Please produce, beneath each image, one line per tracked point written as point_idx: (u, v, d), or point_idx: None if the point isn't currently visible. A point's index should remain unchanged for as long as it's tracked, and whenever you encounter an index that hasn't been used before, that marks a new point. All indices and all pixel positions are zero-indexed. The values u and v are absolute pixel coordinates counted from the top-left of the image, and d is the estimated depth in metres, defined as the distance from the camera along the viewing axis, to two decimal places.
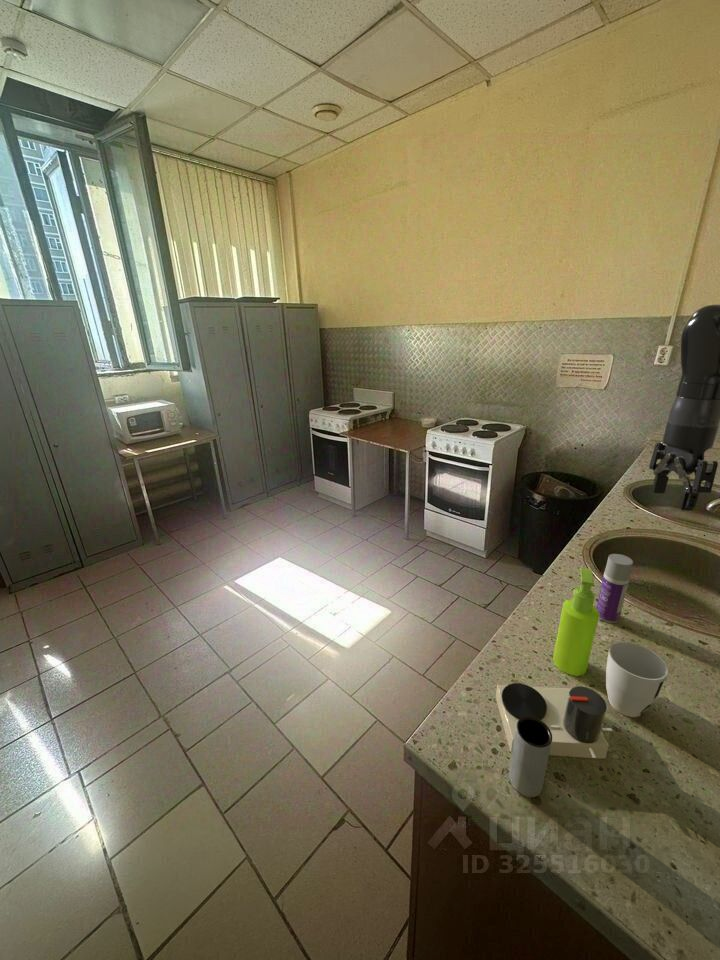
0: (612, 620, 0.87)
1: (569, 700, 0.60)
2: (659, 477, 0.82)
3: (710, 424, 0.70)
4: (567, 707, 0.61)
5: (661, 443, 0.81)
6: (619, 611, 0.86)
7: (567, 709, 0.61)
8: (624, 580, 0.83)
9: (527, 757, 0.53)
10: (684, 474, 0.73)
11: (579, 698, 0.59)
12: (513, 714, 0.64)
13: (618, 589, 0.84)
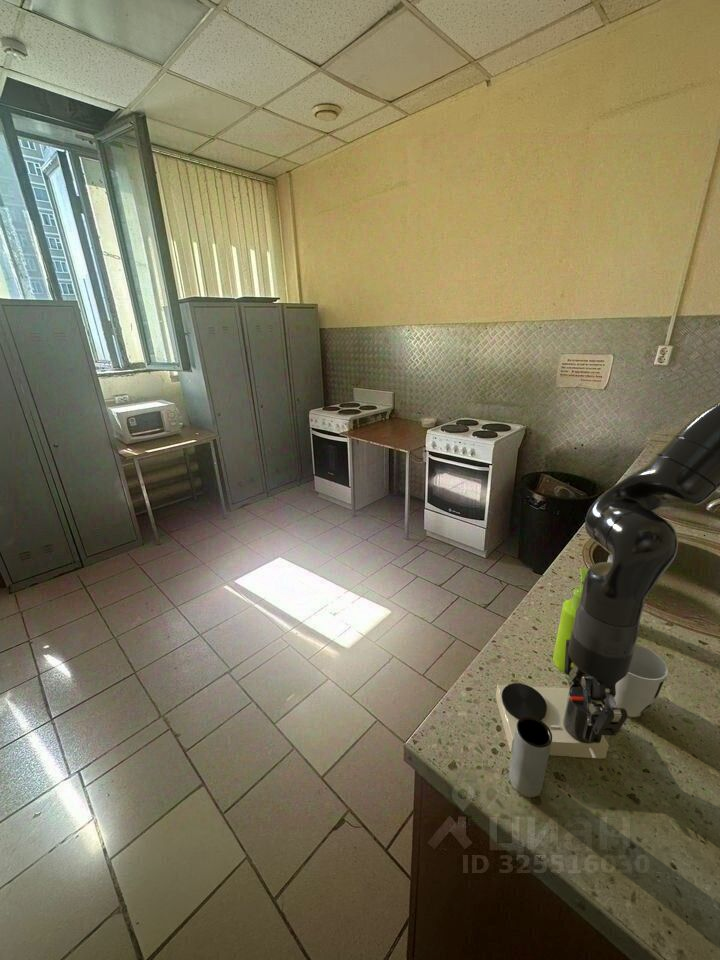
0: None
1: (569, 700, 0.60)
2: None
3: (620, 654, 0.51)
4: (567, 707, 0.61)
5: None
6: None
7: (567, 709, 0.61)
8: None
9: (527, 757, 0.53)
10: (588, 704, 0.56)
11: (579, 698, 0.59)
12: (513, 714, 0.64)
13: None
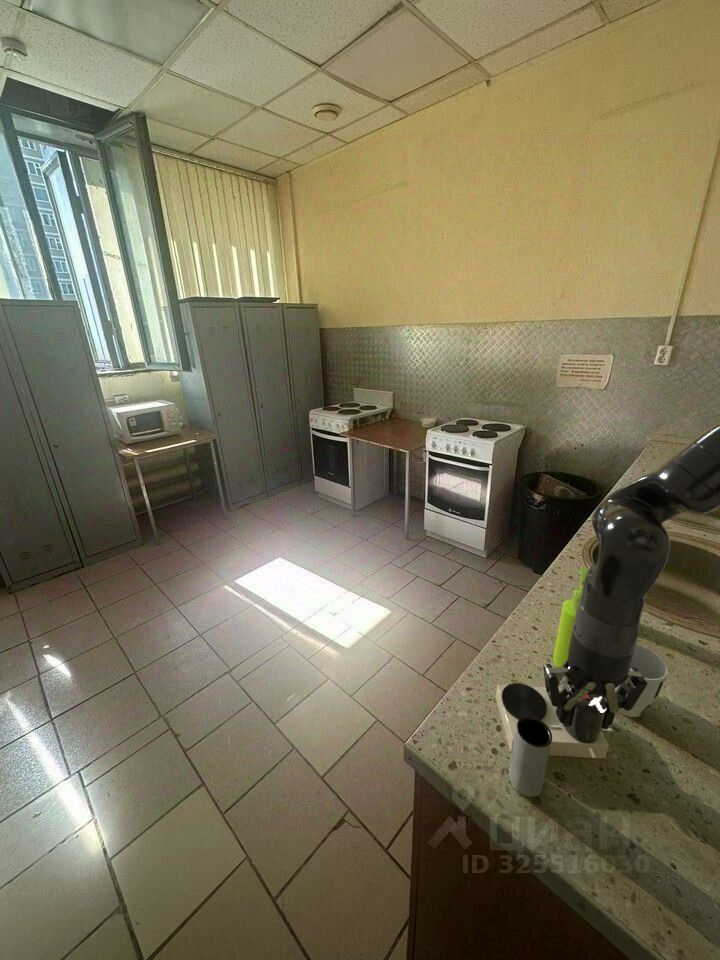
0: None
1: None
2: None
3: (577, 635, 0.55)
4: None
5: (635, 670, 0.57)
6: None
7: None
8: None
9: (527, 757, 0.53)
10: (566, 679, 0.60)
11: None
12: (513, 714, 0.64)
13: None
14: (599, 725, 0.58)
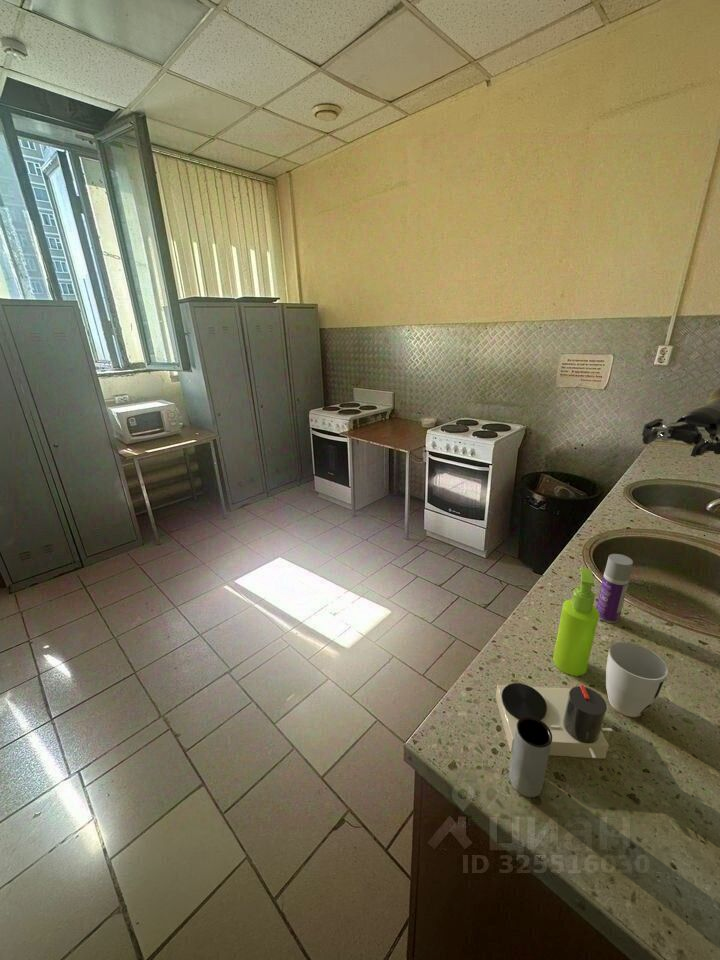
0: (612, 620, 0.87)
1: None
2: None
3: None
4: None
5: None
6: (619, 611, 0.86)
7: None
8: (624, 580, 0.83)
9: (527, 757, 0.53)
10: None
11: (584, 691, 0.60)
12: (513, 714, 0.64)
13: (618, 589, 0.84)
14: (599, 725, 0.58)
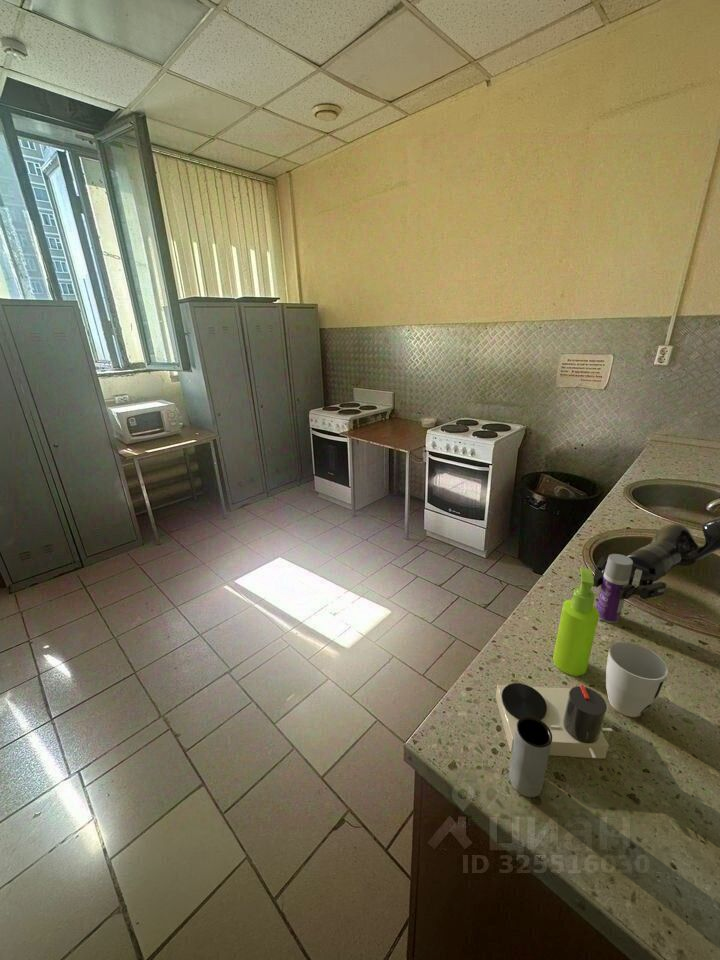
0: (612, 620, 0.87)
1: None
2: None
3: None
4: None
5: None
6: (619, 611, 0.86)
7: None
8: (624, 580, 0.83)
9: (527, 757, 0.53)
10: None
11: (584, 691, 0.60)
12: (513, 714, 0.64)
13: (618, 589, 0.84)
14: (599, 725, 0.58)
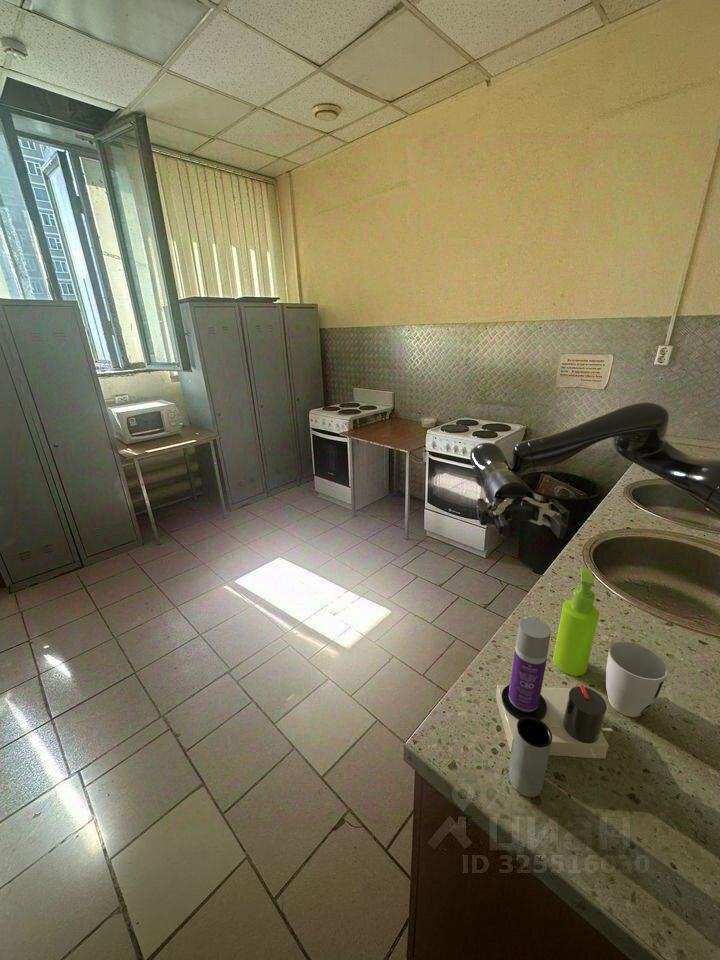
0: (537, 704, 0.64)
1: None
2: (551, 526, 0.64)
3: (486, 490, 0.77)
4: None
5: None
6: None
7: None
8: (547, 652, 0.61)
9: (527, 757, 0.53)
10: None
11: (584, 691, 0.60)
12: (513, 714, 0.64)
13: (544, 667, 0.61)
14: (599, 725, 0.58)
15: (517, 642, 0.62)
